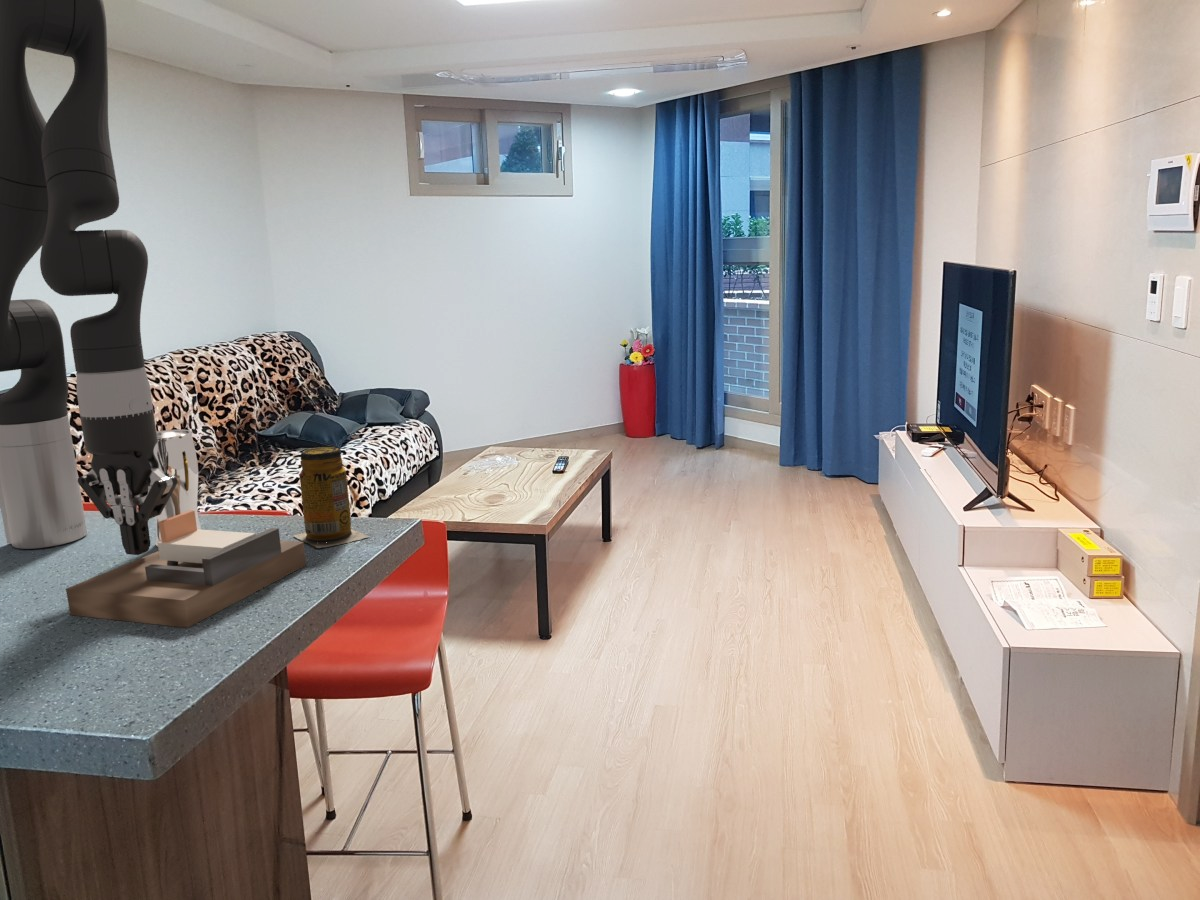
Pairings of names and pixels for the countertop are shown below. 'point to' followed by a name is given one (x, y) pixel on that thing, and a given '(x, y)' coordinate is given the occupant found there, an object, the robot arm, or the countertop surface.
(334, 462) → the condiment
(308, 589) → the countertop surface
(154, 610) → the dock
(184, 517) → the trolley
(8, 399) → the robot arm
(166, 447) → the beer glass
